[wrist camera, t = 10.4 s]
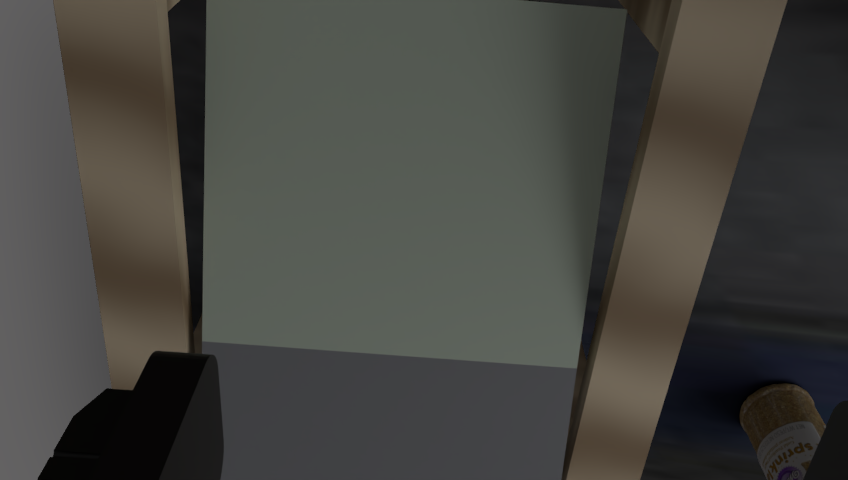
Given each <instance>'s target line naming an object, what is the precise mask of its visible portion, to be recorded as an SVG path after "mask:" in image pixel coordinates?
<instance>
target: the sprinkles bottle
mask: <svg viewBox="0 0 848 480" xmlns="http://www.w3.org/2000/svg"><path fill="white" fill-rule="evenodd" d="M740 423H741V426H742V427H743V429H744V430H745V432H746V433H747V434H748V436H749V439H750V441H751V443H752V445H753V447H754V449H755V451H756V453H757V457H758V461H759V463H760V465H761V467H762V470H763V472H764V474H765V476H766V478H767V480H803V478H804V476H805V474H806V472H807V469H808V467H809V465H810V462H811V460H812V458H813V455H814V453H815V451H816V449H817V446H818V444H819V442H820V439H821V437H822V435H823V432H824V430H825V428H826V425H825V424H824V422H823V420H822V418H821V417H820V415H819V413H818V412H817V410H816V408H815V407H814V402H813V399H812V398H811V396H810V395H809V394H808V392H807V391H806V390H804V389H802V388H801V387H799V386H797V385H794V384H788V383H784V384H772V385H770V386H765V387H763V388H760V389H759V390H757V391H756V392H754V393H753V394H752V395H750V396H748V398H747V399H746V400H745V401H744V402H743V405H742V406H741V409H740Z"/></svg>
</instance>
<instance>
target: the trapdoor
mask: <svg viewBox="0 0 848 480" xmlns="http://www.w3.org/2000/svg"><path fill="white" fill-rule="evenodd" d="M626 16H627V9H616V8H604V7H593V6H581V5H570V4H558V3H546V2H535V1H523V0H207V4H206V80H205V157H204V233H203V309H202V354H212V355H215V357H216V359H217V363H218V372H219V385H220V398H221V411H222V424H223V437H224V456H223V466H222V473H221V479H220V480H561V479H562V472H563V464H564V457H565V450H566V443H567V436H568V429H569V422H570V415H571V407H572V400H573V393H574V386H575V379H576V372H577V365H578V358H579V350H580V343H581V336H582V329H583V322H584V315H585V308H586V301H587V293H588V286H589V279H590V272H591V265H592V258H593V251H594V244H595V237H596V229H597V222H598V215H599V208H600V201H601V194H602V187H603V180H604V172H605V165H606V158H607V151H608V144H609V137H610V130H611V123H612V115H613V108H614V101H615V94H616V87H617V80H618V73H619V66H620V58H621V51H622V44H623V37H624V30H625V23H626Z"/></svg>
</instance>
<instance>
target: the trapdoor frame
mask: <svg viewBox="0 0 848 480" xmlns="http://www.w3.org/2000/svg"><path fill="white" fill-rule="evenodd" d="M179 1H180V0H53V2H54V9H55V16H56V22H57V29H58V35H59V42H60V49H61V55H62V62H63V68H64V75H65V81H66V88H67V95H68V102H69V108H70V115H71V121H72V128H73V135H74V141H75V148H76V154H77V161H78V168H79V174H80V181H81V187H82V193H83V199H84V207H85V214H86V220H87V227H88V233H89V240H90V247H91V253H92V260H93V267H94V273H95V280H96V286H97V293H98V299H99V306H100V313H101V319H102V326H103V333H104V339H105V345H106V352H107V359H108V366H109V372H110V379H111V385H112V389H122V390H133V389H134V387H135V385H136V383H137V381H138V379H139V377H140V375H141V373H142V371H143V369H144V367H145V365H146V363H147V361H148V359H149V357H150V356H151V354H152V353H153V352H155V351H169V352H183V353H198V354H202V315H201V317H200V320H199V322H198V324H197V327H196V329H195V331H194V334H193V322H192V310H191V297H190V285H189V272H188V260H187V247H186V235H185V223H184V210H183V198H182V185H181V173H180V160H179V148H178V136H177V123H176V111H175V98H174V86H173V74H172V61H171V49H170V36H169V24H168V11H169V10H170V9H171V8H172V7H173V6H175V5H176V4H177V3H178V2H179ZM618 1H619V2H620V3H621V5H622V6H623V7H624V8H625V9H627V12H628V14H629V15H630V16H631V18H632V19H633V20H634V21H635V23H636V24H637V25H638V27H639V28H640V29H641V31H642V32H643V33H644V34H645V36H646V37H647V38H648V40H649V41H650V42H651V44H652V45H653V46H654V48H655V49H656V50H657V51H658V53H659V56H658V60H657V65H656V69H655V73H654V77H653V82H652V86H651V90H650V94H649V99H648V103H647V107H646V111H645V116H644V120H643V124H642V128H641V133H640V137H639V141H638V145H637V150H636V154H635V158H634V162H633V167H632V171H631V175H630V179H629V184H628V188H627V192H626V196H625V201H624V205H623V209H622V213H621V218H620V222H619V226H618V230H617V235H616V239H615V243H614V247H613V252H612V256H611V260H610V264H609V269H608V273H607V277H606V281H605V286H604V290H603V294H602V298H601V303H600V307H599V311H598V315H597V320H596V324H595V328H594V332H593V337H592V341H591V345H590V349H589V353H588V358H587V362H586V358H585V354H584V350H583V346H582V342H581V343H580V350H579V358H578V365H577V372H576V379H575V386H574V393H573V400H572V407H571V415H570V422H569V429H568V436H567V443H566V450H565V457H564V464H563V472H562V479H561V480H640V478H641V474H642V471H643V468H644V465H645V461H646V458H647V455H648V452H649V448H650V445H651V442H652V439H653V435H654V432H655V429H656V426H657V422H658V419H659V416H660V413H661V409H662V406H663V403H664V400H665V396H666V393H667V390H668V387H669V383H670V380H671V377H672V374H673V370H674V367H675V364H676V361H677V357H678V354H679V351H680V348H681V344H682V341H683V338H684V335H685V331H686V328H687V325H688V322H689V318H690V315H691V312H692V309H693V305H694V302H695V299H696V296H697V292H698V289H699V286H700V283H701V279H702V276H703V273H704V270H705V266H706V263H707V260H708V257H709V253H710V250H711V247H712V244H713V240H714V237H715V234H716V231H717V227H718V224H719V221H720V218H721V214H722V211H723V208H724V205H725V201H726V198H727V195H728V192H729V188H730V185H731V182H732V179H733V175H734V172H735V169H736V166H737V162H738V159H739V156H740V153H741V149H742V146H743V143H744V140H745V136H746V133H747V130H748V127H749V123H750V120H751V117H752V114H753V110H754V107H755V104H756V101H757V97H758V94H759V91H760V88H761V84H762V81H763V78H764V75H765V71H766V68H767V65H768V62H769V58H770V55H771V52H772V49H773V45H774V42H775V39H776V36H777V33H778V29H779V26H780V23H781V20H782V16H783V13H784V10H785V7H786V3H787V0H618Z"/></svg>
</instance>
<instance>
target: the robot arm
mask: <svg viewBox="0 0 848 480" xmlns="http://www.w3.org/2000/svg"><path fill="white" fill-rule="evenodd" d="M223 456H224V437H223V424H222V411H221V398H220V385H219V372H218V363H217V359H216V357H215V355H212V354H198V353H183V352H169V351H155V352H153V353H152V354H151V356H150V357H149V359H148V361H147V363H146V365H145V367H144V369H143V371H142V373H141V375H140V377H139V379H138V381H137V383H136V385H135V387H134V389H133V390H122V389H106V390H104V391H103V392H102V393H101V394H100V395H98V396H97V397H96V398H95V399H94V400H92V401H91V402H90V403H89V404H88V405H86V406H85V407H84V408H83V409H82V410H80V411H79V412H78V413H77V414H76V415H74V416H73V418H72V420H71V421H70V423H69V425H68V427H67V428H66V430H65V432H64V434H63V435H62V437H61V439H60V441H59V442H58V444H57V446H56V448H55V449H54V455H53V457H50V458H49V460H48V461H47V463H46V465H45V467H44V469H43V470H42V472H41V474H40V475H39V477H38V480H220V479H221V473H222V466H223ZM803 480H848V401H843V402H841V403H839V404H838V405H837V406H836V407H835V409H834V410H833V412H832V414H831V416H830V419H829V421H828V423H827V426H826V428H825V430H824V432H823V435H822V437H821V439H820V442H819V444H818V446H817V449H816V451H815V453H814V455H813V458H812V460H811V462H810V465H809V467H808V469H807V472H806V474H805V476H804V478H803Z"/></svg>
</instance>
